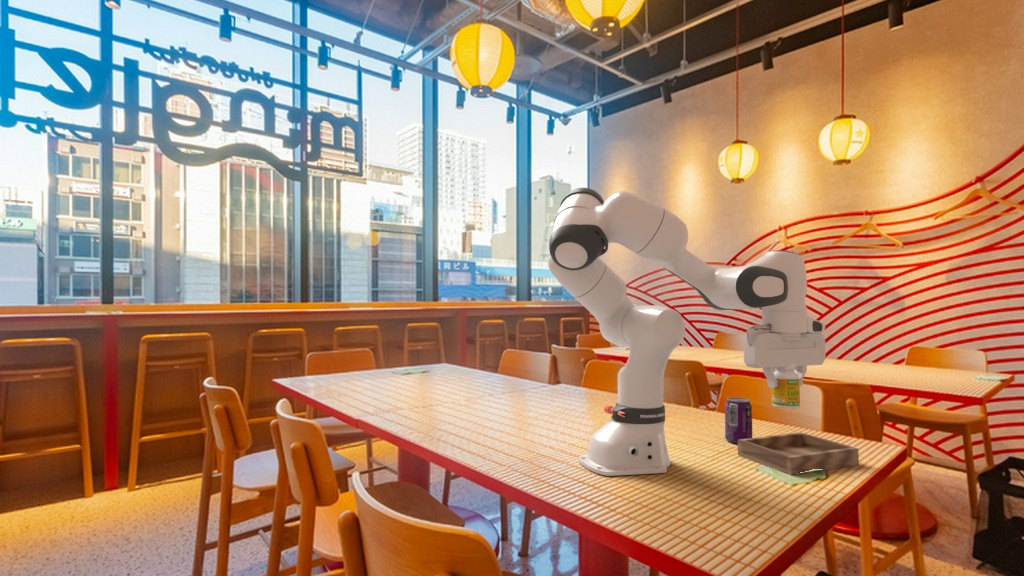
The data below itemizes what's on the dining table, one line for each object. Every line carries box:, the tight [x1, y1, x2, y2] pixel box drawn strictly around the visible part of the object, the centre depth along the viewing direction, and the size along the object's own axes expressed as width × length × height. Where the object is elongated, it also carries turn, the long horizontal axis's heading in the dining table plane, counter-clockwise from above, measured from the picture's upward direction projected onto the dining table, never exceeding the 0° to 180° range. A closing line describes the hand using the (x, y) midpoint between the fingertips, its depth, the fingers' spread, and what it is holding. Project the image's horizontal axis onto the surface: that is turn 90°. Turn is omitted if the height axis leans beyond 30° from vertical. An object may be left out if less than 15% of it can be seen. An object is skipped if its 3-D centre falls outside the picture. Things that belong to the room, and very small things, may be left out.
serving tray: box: [737, 431, 860, 476], centre depth 125 cm, size 22×16×4 cm
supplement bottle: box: [771, 364, 801, 410], centre depth 109 cm, size 5×5×10 cm
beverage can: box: [724, 397, 753, 445], centre depth 142 cm, size 7×7×12 cm
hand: (785, 386), depth 109 cm, fingers closed on supplement bottle, 5 cm apart
